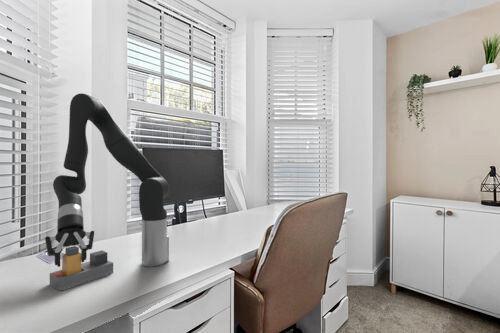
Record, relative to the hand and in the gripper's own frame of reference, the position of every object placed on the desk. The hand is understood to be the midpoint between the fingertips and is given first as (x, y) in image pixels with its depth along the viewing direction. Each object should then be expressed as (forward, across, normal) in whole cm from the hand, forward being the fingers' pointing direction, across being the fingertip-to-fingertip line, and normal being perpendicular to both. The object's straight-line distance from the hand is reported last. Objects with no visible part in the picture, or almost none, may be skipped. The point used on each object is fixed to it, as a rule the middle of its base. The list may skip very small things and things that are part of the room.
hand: (71, 263), depth 81 cm
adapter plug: (+3, 0, +5) cm, 6 cm away
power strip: (+3, +3, +7) cm, 8 cm away
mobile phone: (-18, -6, +29) cm, 35 cm away
